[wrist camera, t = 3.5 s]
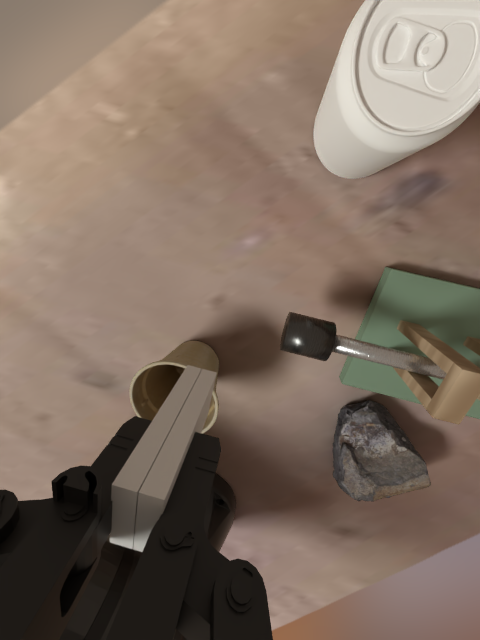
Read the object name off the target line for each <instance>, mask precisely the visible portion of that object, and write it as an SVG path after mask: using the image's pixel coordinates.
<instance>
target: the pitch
mask: <svg viewBox="0 0 480 640" xmlns="http://www.w3.org/2000/svg"><path fill="white" fill-rule="evenodd" d="M400 320H402V321H407V322H411V323H415V324H419V325H421V326H422V327H424V328H425V329H426V330H428V331H429V332H430V333H432V334H433V335H435V336H436V337H437V338H439V339H440V340H441V341H443V342H444V343H446V344H447V345H448V346H450V347H451V348H453V349H454V350H455V351H457V352H458V353H459V354H461V355H462V356H464V357H465V358H466V359H468V360H469V361H471V362H472V363H473V364H475V365H476V366H477V367H479V368H480V356H479V355H478V354H476V353H475V352H473V351H472V350H470V349H469V348H467V347H466V346H464V345H463V343H464V342H465V340H466V338H467V336H469V337H473V338H477V339H480V288H475V287H471V286H467V285H462V284H458V283H454V282H449V281H445V280H441V279H436V278H432V277H428V276H424V275H419V274H415V273H411V272H406V271H402V270H398V269H393V268H389V267H385V269H384V272H383V274H382V276H381V279H380V281H379V284H378V286H377V288H376V291H375V293H374V295H373V298H372V300H371V303H370V305H369V307H368V310H367V312H366V314H365V317H364V319H363V322H362V324H361V326H360V329H359V331H358V334H357V336H356V338H355V339H356V340H360V341H364V342H368V343H372V344H376V345H380V346H384V347H388V348H392V349H396V350H400V351H404V352H408V353H412V354H417V355H421V356H425V357H428V356H427V355H426V354H424V353H423V352H422V351H421V350H420V349H419V348H418V347H417V346H415V345H414V344H413V343H412V342H411V341H410V340H409V339H408V338H407V337H405V336H404V335H403V334H402V333H401V332H400V331H399V330H398V329H397V326H398V324H399V322H400ZM339 377H340V380H341V382H342V384H345V385H349V386H353V387H357V388H360V389H364V390H368V391H372V392H376V393H380V394H384V395H388V396H392V397H395V398H399V399H403V400H407V401H411V402H415V403H419V404H421V402H420V401H419V400H418V399H417V397H416V396H415V395H414V394H413V392H412V391H411V390H410V388H409V387H408V386H407V385H406V383H405V382H404V381H403V380H402V378H401V377H400V376H399V375H398V373H397V372H396V371H395V370H394V368H393V367H391V366H387V365H383V364H379V363H375V362H371V361H367V360H363V359H359V358H355V357H351V356H348V357H347V360H346V362H345V364H344V367H343V369H342V372H341V374H340V376H339ZM429 377H430V378H431V379H432V380H433V381H434V382H435V383H436V384H437V385H438V386H440V384H441V383H442V381H443V379H439V378H435V377H431V376H429ZM466 416H469V417H473V418H477V419H480V400H478V399H476V400H475V402H474V403H473V405H472V406H471V408H470V409H469V411H468V412H467V414H466Z"/></svg>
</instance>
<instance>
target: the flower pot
mask: <svg viewBox="0 0 480 640" xmlns="http://www.w3.org/2000/svg"><path fill="white" fill-rule="evenodd" d="M187 365H190V366H194V367H197V368H201V369H205V370H209V371H213V372H217V374H216V379H215V384H214V388H213V393H212V398H211V403H210V408H209V412H208V416H207V419H206V421H205V424H204V427H203V430H202V432H201V434H203V433H205V432H206V431H207V430H209V429H210V428H211V427H212V425H213V424H214V422H215V420H216V418H217V415H218V410H219V403H218V397H217V394H216V384H217V376H218V369H219V359H218V357H217V355H216V354H215V352H214V351H213V349H212V348H211V347H210V346H208V345H207V344H205V343H202V342H199V341H188V342H185V343H183V344H181V345H179V346H178V347H177V348H176V349H175V350H174V351H172V352H171V353H170V354H169V355H167V356H166V357H165V358H163V359H162V360H160V361H157V362H153V363H151V364H148V365H146V366H145V367H143V368H142V369H141V370H139V371H138V372H137V373H136V375H135V376H134V378H133V380H132V382H131V385H130V401H131V405H132V408H133V410H134V411H135V413H136V415H137V416H138V417H140V418H144V419H147V420H151V421H152V420H153V419H154V417H155V416H156V414H157V413H158V411H159V409H160V408H161V406H162V405H163V403H164V401H165V400H166V398H167V397H168V395H169V394H170V392H171V390H172V389H173V387H174V386H175V384H176V383H177V381H178V379H179V378H180V376H181V375H182V373H183V372H184V370H185V368H186V367H187Z"/></svg>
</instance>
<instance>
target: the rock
mask: <svg viewBox="0 0 480 640" xmlns="http://www.w3.org/2000/svg"><path fill="white" fill-rule="evenodd" d="M333 459H334V461H333V463H334V471H333V477H334V478H335V479H336V481H337V482H338V485H339V487H340V488H341V489H342V490H343V491H344V492H346V493H347V494H348V495H350V496H351V497H352V498H353V499H355V500H357V501H360V500H364V501H375V500H378V499H382V498H384V497H386V498H389V497H391V496H394V495H398V494H402V493H405V492H410V491H414V490H418V489H422V488H426V487H429V486H430V485H431V482H430V479H429V476H428V471H427V467H426V463H425V462H424V460H423V459H422V457H421V456H420V455H419V453H418V452H417V451H416V450H415V449H414V447H413V445H412V444H411V442H410V441H409V439H408V437H407V436H406V434H405V433H404V431H403V430H402V429H400V427H399V426H398V424H397V423H396V421H395V420H394V419H393V417H392V416H391V415H390V414H389V412H388V411H387V409H386V408H385V407H384V406H383V405H380V404H378V403H375V402H373V401H369V400H368V401H365V402H363V403H358V404H351V405H346V406H344V407H343V408H342V409H341V410H340V413H339V414H338V421H337V426H336V432H335V435H334V443H333Z"/></svg>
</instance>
